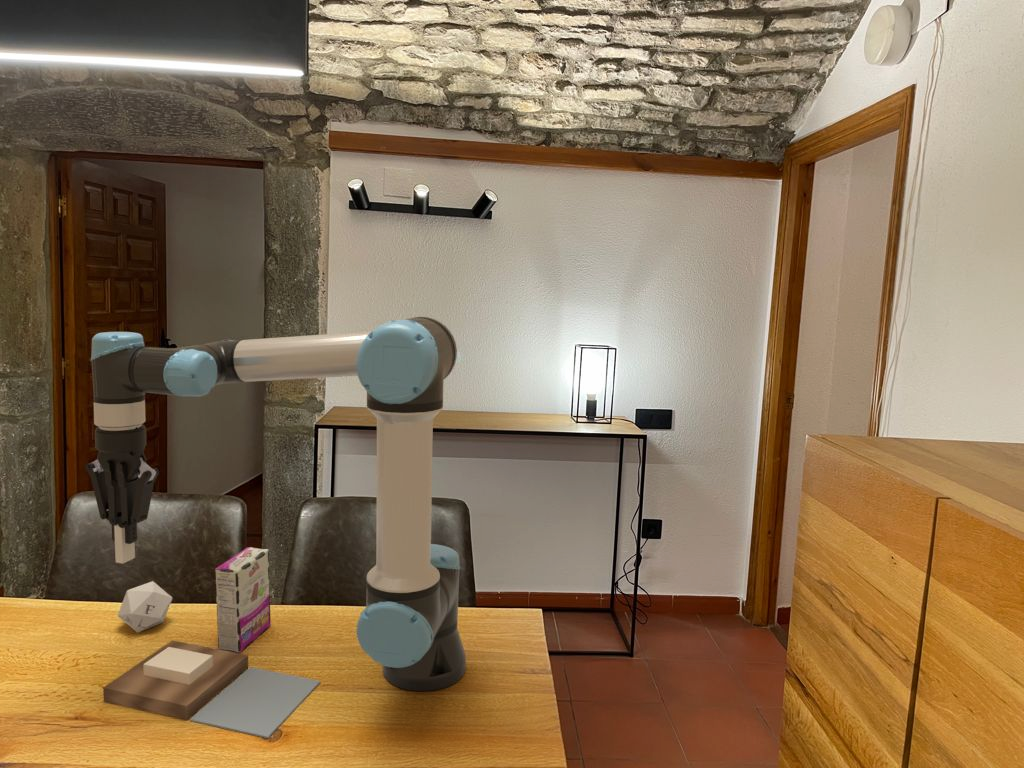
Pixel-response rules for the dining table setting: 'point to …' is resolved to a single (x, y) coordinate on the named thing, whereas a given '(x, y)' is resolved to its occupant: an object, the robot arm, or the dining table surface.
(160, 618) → the die
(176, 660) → the cream rectangular tile
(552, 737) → the dining table surface
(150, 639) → the dining table surface
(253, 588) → the candy bar box
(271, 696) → the mat
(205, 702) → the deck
